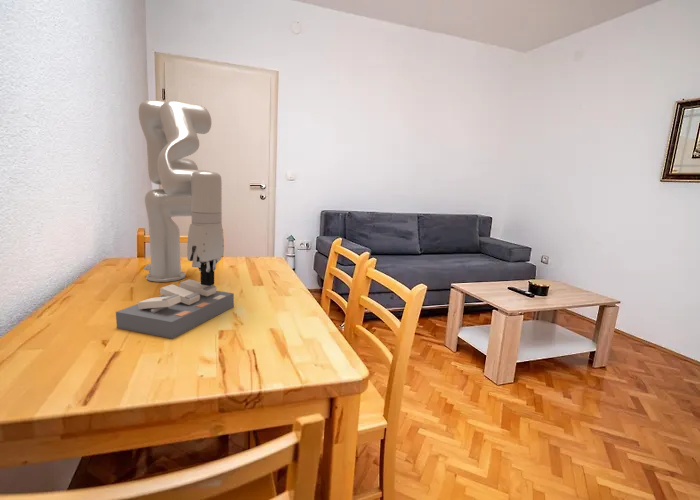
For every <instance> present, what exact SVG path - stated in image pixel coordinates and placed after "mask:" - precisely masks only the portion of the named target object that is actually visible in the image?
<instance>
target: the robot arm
mask: <svg viewBox="0 0 700 500" xmlns="http://www.w3.org/2000/svg"><path fill="white" fill-rule="evenodd" d="M138 120H139V124H140V127H141V130H142V132H143V135H144V137H145V141H146V151H147V153H146V155H147V170H148V172H147V173H148V178H149V180H150V182H151V183H153V184H155V185H161V187H162V188H156V189H151V190H149V191H147V192H146V194H145V196H144V205H145V209H146V213H147V219H148V220H147V221H148V229H149V233H148V234H149V249H150V250H149V251H150V253H149V254H150V263H148V264H146V265H145V266H144V267H143V270H144V271H148V273H147V275H146V280H147V281H150V282H155V283H163V282H164V283H168V282H169V283H170V282H175V281H181V280H182V279H185V278H186V273H185V272H184V271H182V270H181V269H182V266H181V265H182V264H181V263H182V262H181V241H180V239H181V236H180V235H181V234H180V228H179V226H178V225H177V223H176V222H175V221H174V220H173V218H174V217H191V223H190V224H189V228H188V233H187V241H186V242H187V243H186V244H187V245H186V257H187V260H188V261H189V262H192V264H191V267H192V268H197V269H198V271H200V282H201V285H206V286H211V285H214V286H215V270H216V269H217V264H218V263H219V261H221V260H222V257H223V255H224V251H225V245H224V243H225V241H224V232H223V231H224V230H223V224H222V222H223V221H222V220H223V217H222V215H223V212H222V211H223V210H222V205H223V204H222V197H223V194H222V189H223V188H222V184H223V183H222V181H223V180H222V176H221V174H220V173H218V172H215V171H209V170H203V169H202V170H200V169H199V167H198V164H197V163H196V162H195V161H194V160H193V159H189V158H186V157H189V156H191V155H193V154H195V153H196V152H197V151H198V150H199V147H200V140H199V137H198V134H200V135H206V134H207V133H209V132H210V131H211V128H212V117H211V114H210V112H209V110H208V109H207V108H206V107H204V106H203V105H199V104H194V103H188V102H183V101H179V100H178V101H176V100H169V101H163V100H158V99H157V100H155V99H153V100H152V99H151V100H150V99H147V100H143V101H142V102H141V103H140V104H139V106H138Z"/></svg>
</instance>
